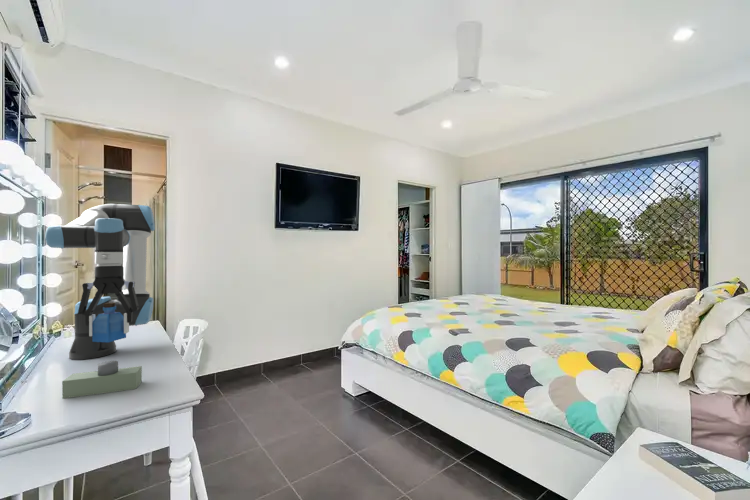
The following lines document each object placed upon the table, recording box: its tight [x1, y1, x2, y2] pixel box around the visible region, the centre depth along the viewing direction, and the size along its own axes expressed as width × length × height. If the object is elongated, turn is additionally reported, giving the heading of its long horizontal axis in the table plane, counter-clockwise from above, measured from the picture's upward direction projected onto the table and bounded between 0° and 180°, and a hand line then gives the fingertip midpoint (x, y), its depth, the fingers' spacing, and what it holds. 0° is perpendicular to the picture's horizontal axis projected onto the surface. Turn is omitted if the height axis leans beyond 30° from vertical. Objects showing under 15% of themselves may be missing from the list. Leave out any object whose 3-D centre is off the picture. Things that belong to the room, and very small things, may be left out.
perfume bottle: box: [92, 302, 127, 342], centre depth 112 cm, size 6×6×12 cm
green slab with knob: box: [61, 360, 143, 399], centre depth 109 cm, size 15×18×8 cm
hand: (109, 333), depth 112 cm, fingers closed on perfume bottle, 8 cm apart
